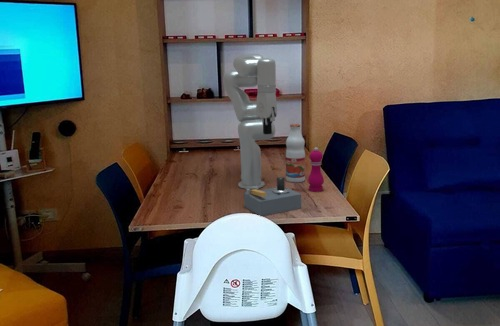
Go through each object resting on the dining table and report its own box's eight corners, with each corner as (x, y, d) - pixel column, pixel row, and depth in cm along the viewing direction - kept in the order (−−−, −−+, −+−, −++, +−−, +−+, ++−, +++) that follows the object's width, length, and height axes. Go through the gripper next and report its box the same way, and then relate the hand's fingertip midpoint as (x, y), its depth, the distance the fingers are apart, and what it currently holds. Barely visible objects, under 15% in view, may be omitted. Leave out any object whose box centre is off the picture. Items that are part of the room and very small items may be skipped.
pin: (270, 204, 203) (270, 177, 200) (283, 202, 206) (283, 175, 203) (278, 209, 198) (277, 180, 195) (291, 206, 200) (291, 178, 198)
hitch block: (244, 206, 202) (243, 187, 200) (283, 199, 210) (283, 181, 208) (260, 216, 190) (259, 196, 188) (301, 208, 198) (301, 188, 196)
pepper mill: (322, 187, 226) (322, 145, 222) (325, 191, 219) (325, 148, 215) (306, 187, 226) (306, 146, 222) (309, 192, 219) (309, 149, 215)
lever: (249, 193, 199) (249, 189, 199) (254, 192, 200) (253, 188, 200) (262, 196, 189) (261, 192, 189) (266, 196, 190) (266, 192, 190)
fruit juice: (307, 178, 242) (307, 123, 236) (302, 183, 234) (302, 126, 227) (288, 177, 246) (288, 122, 239) (283, 182, 237) (283, 125, 231)
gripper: (250, 89, 204) (251, 132, 208) (267, 91, 191) (268, 137, 195) (265, 88, 207) (266, 130, 211) (283, 90, 194) (284, 135, 198)
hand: (267, 133), depth 203 cm, fingers closed
